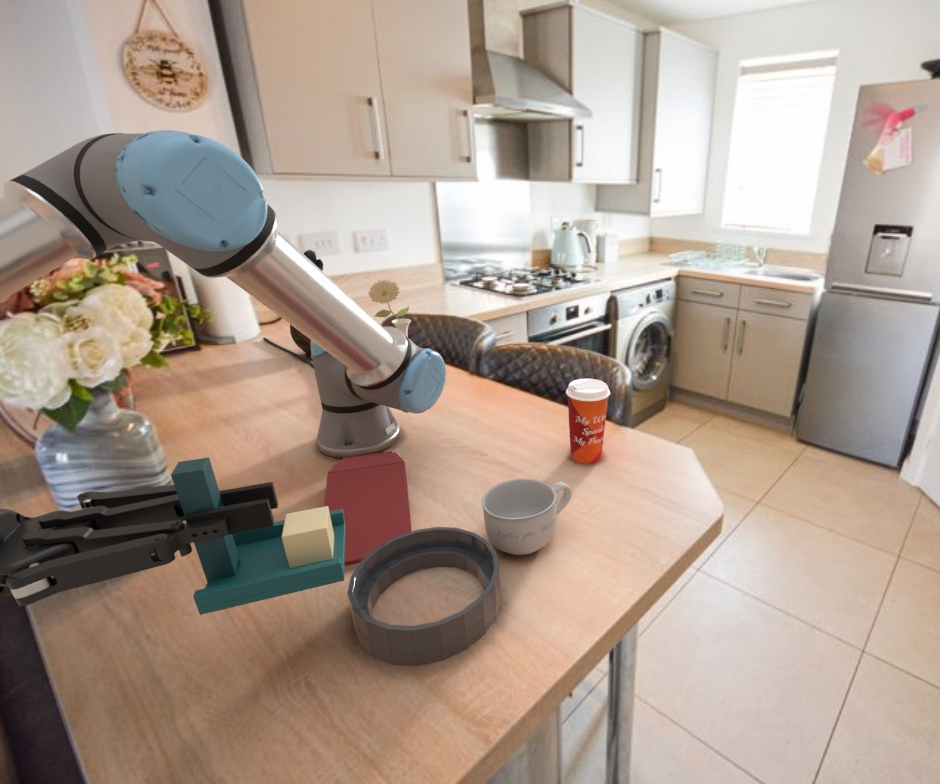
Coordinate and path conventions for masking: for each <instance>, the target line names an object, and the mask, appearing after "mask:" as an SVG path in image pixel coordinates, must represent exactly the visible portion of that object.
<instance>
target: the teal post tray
mask: <svg viewBox="0 0 940 784" xmlns="http://www.w3.org/2000/svg"><path fill="white" fill-rule="evenodd" d="M210 459H211V458H210V457H202V458H196V459H195V458H194V459H187V460H182V461H181V460H180V461H178V463H177V464H176V466H174V469H173V470H172V472H171V474H170V477H171V481H172V482H173V485H174V486H175V489H176V492H177V495H178V497H179V500H180V503H181V506H182V509H183V512H184V515H185V516H186V514H187V513H190V512H196V511H201V510H207V509H213V508H217V507H223V506H224V505H223V502H222V498H221V495H220V492H219V491H220V488H219V486H218V483H217V478H216V476H215V472H214V469H213V465H212V462H211V460H210ZM329 512H330V517H331V522H332V527H333V532H334V550H333V559H330V560H326V561H321V562H317V563H312V564H308V565H303V566H299V567H294V568H289V564H288V560H287V556H286V552H285V548H284V544H283V540H282V533H283V528H284V523H285V519H283V520H277V521H274V525H273V526H271V527H266V528H261V529H255V530H250V531H245V532H240V533H235V534H230V535H225V536H223V537H219V538H213V539H208V540H203V541H198V542H193V544H194V547H195V550H196V553H197V556H198V559H199V563H200V565H201V568H202V570H203V574H204V576H205V581H206V584H205V587H204V588H201V589H200V588H199V589H196V590H194V593H193V600H194V603H195V605H196V608H197V611H198V615H199V616H202V615H206V614H210V613H215V612H219V611H223V610H226V609H232V608H235V607H240V606H244V605H249V604H252V603H256V602H260V601H265V600H269V599H274V598H277V597H281V596H286V595H289V594H294V593H298V592H302V591H307V590H310V589H315V588H319V587H323V586H328V585H331V584H336V583H339V582H343V581H345V568H346V567H345V566H346V565H345V533H346V524H345V519H344V513H343V509H339V510H334V511H329Z"/></svg>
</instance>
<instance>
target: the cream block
mask: <svg viewBox="0 0 940 784" xmlns="http://www.w3.org/2000/svg"><path fill="white" fill-rule="evenodd" d="M284 520H285V523H284V528H283V533H282V540H283V544H284V548H285V552H286V556H287V560H288V564H289V568H294V567H299V566H303V565H308V564H312V563H317V562H321V561H326V560H330V559H333V550H334V532H333V527H332V522H331V517H330V512H329V507H328V506H325V507H324V506H321V507H315V508H311V509H305V510H299V511H294V512H290V513H286V514H285V518H284Z"/></svg>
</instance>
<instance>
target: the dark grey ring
mask: <svg viewBox="0 0 940 784" xmlns="http://www.w3.org/2000/svg"><path fill="white" fill-rule="evenodd" d="M499 563H500V562H499V559H498V553H497V551H496V550H495V549H494V546H493V545H491V542H490V541H488V540H487V539H485V538H484V537H482V536H480V535H479V534H478V533H476V532H473V531H469V530H466V529H463V528H459V527H451V526H450V527H449V526H448V527H447V526H445V527H444V526H434V527H427V528H420V529H415V530H411V532H408V533H405V534H402V535H399V536H396V537H394V538H392V539H390V540H389V541H387V542H385V543H383V544H381V545H380V546H378V547H377V548H375V549H374V550H373V551H372V552H371V553H369V554H368V555H367V556H366V557H365V558H364V559H363V560H361V562H358V564H357V567H355V568H354V569H355V570H353V572H352V574H351V575H350V579H349V584H348V589H347V598H348V604H349V607H350V613H351V618H352V623H353V627H354V631H355V635H356V637H357V641H358V644H359V645H360V646H361V647H362V648H363V649H364V650H365V651H366V653H367V654H369V655H370V656H371V657H372V658H373V659H377V660H379V661H382V662H384V663H386V664H389V665H392V666H404V667H405V666H407V667H420V666H425V665H431V664H434V663H439V662H443V661H446V660H448V659H450V658H452V657H454V656H456V655H458V654H461V653H462V652H464V651H467V650H468V649H469V648H470V647H472V646H473V645H474V644H475V643H476V642H478V641H479V640H480V639H482V637H484V636H485V635H486V634H487V632H488V631H489V629H490V628H491V627H492V625H493V623H494V622H496V621H497V618H498V614H499V610H500V606H501V604H502V603H501V602H502V595H501V594H502V593H501V576H500V575H501V573H500V564H499ZM438 567H439V568H454V569H458V570H461V571H465V572H468V573H469V574H470V575H472V576H473V577H475V578H476V579H478V581H479V583H480V584H481V586H482V588H483V591H482V593H481V594H480V595H479V596H478V598H476V599H475V600H474V601H472V602H471V603H470V604H469V605H467V606H466V607H465V608H463V609H462V610H460V611H458V612H456V613H453V614H450V616H449V615H448V616H447V617H444V618H442V619H439V620H437V621H432V622H426V623H422V624H416V625H405V624H404V625H401V624H389V623H386V622H383V621H381V620H377V619H376V618H372V617H373V609H374V608H375V605H376V604H377V602H378V600H379V598H380V596H382V595H383V593H385V592H386V591H387V589H388V588H389V587H390V586H391V585H393V584H395V583H396V582H398V581H399V580H401V579H402V578H404V577H406V576H408V575H411V574H413V573H415V572H418V571H421V570H426V569H432V568H438Z"/></svg>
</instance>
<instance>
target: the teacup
mask: <svg viewBox="0 0 940 784" xmlns="http://www.w3.org/2000/svg"><path fill="white" fill-rule="evenodd" d="M561 491H563V494H562V497H560V500H559V501H558V502H557V500H558V493H559V492H561ZM571 499H572V489H571V487H570V485H569V484H567V483H566V482H563V481H558V482H556V483H554V484H553V485H550V484H549V483H547V482H545V481H542V480H539V479H535V478H515V479H514V478H513V479H509V480H505V481H502V482H501V481H500V482H499V483H497V484H494V485H493V486H491V487H490V488H489V489H487V490H486V491H485V492H484V494H483V496H482V498H481V507H482V511H483V520H484V527H485V532H486V533H485V534H486V536H487V539H488V540H489V543H490V544H492V546H493V547H495V548H496V549H497V550H499V551H501V552H504V553H507V554H509V555H514V556H524V555H525V556H526V555H529V554H533V553H535V552H538V551H539V550H540V549H542V548H543V547H545V546H546V545H547V544H548V543H550V541H551V540H552V539H553V537H554V535H555V534H556V533H555V532H556V529H557V522H558V521H557V520H558V519H557V516H558V515H559V514H560V513H561V512H562V511H563V510H564V509H565V508H566V506H567V505H568V504H569V503H570V501H571Z"/></svg>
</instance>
